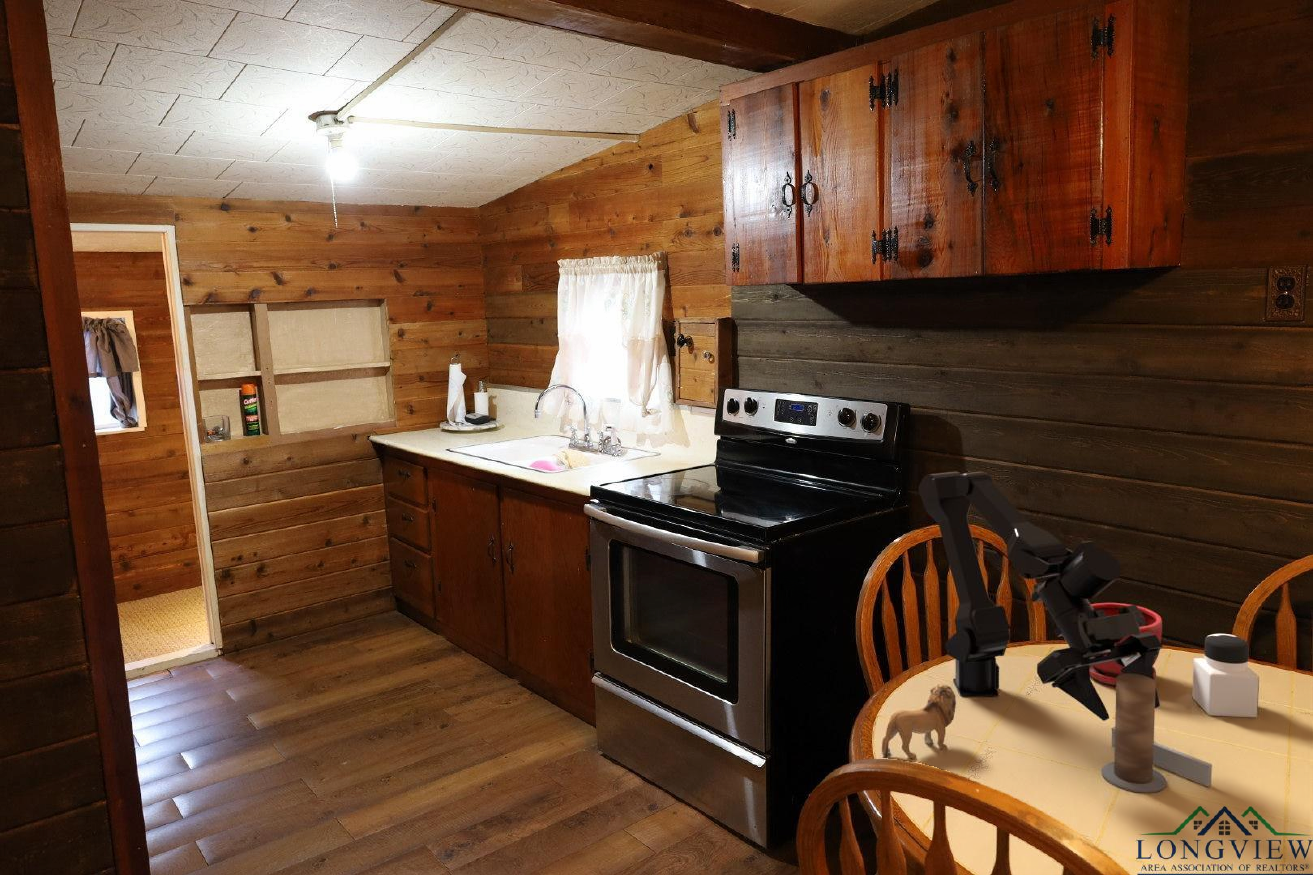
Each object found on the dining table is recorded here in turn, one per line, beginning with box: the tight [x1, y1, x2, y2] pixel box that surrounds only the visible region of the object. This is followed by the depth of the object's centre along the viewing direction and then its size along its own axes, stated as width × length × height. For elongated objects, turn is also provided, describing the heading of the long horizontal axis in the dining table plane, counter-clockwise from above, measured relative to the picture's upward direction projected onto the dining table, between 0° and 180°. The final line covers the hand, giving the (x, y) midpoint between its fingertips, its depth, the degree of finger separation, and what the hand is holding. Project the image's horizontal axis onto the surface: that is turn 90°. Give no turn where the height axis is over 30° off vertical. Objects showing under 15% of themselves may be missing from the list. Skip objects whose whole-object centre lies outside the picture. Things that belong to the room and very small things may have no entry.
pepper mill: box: [1113, 674, 1157, 784], centre depth 124 cm, size 5×5×14 cm
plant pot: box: [1089, 602, 1163, 686], centre depth 158 cm, size 13×13×12 cm
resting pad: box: [1101, 761, 1167, 794], centre depth 125 cm, size 8×8×1 cm
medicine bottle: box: [1191, 633, 1260, 719], centre depth 144 cm, size 7×7×12 cm
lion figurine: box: [881, 683, 957, 760], centre depth 135 cm, size 15×5×9 cm, turn 121°
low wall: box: [1111, 726, 1213, 787], centre depth 128 cm, size 14×1×3 cm, turn 30°
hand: (1132, 713), depth 124 cm, fingers open, 9 cm apart
